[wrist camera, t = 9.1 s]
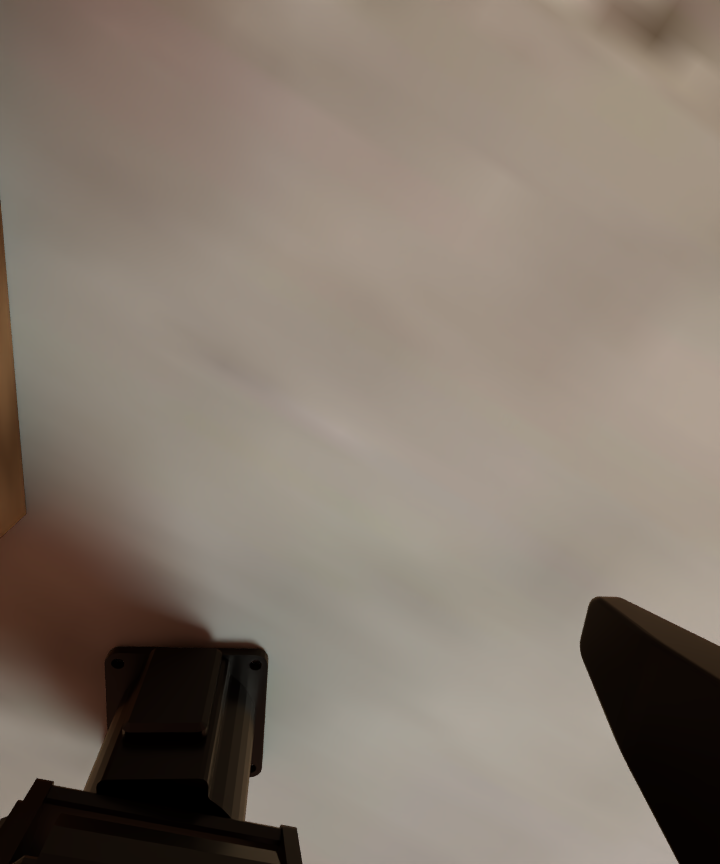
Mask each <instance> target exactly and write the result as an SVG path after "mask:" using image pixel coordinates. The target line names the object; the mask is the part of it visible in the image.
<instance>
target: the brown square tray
mask: <svg viewBox="0 0 720 864" xmlns="http://www.w3.org/2000/svg"><path fill="white" fill-rule="evenodd" d="M25 515H26V505H25V492H24V480H23V468H22V456H21V444H20V432H19V420H18V408H17V396H16V383H15V371H14V359H13V347H12V335H11V323H10V311H9V299H8V287H7V274H6V262H5V250H4V238H3V226H2V214H1V202H0V538H1V537H2V536H3V535H4V534H5V533H6V532H7V531H8V530H9V529H11V528H12V527H13V526H14V525H15V524H16V523H17V522H18V521H19V520H20V519H21V518H22V517H23V516H25Z"/></svg>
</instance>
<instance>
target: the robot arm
mask: <svg viewBox="0 0 720 864" xmlns="http://www.w3.org/2000/svg"><path fill="white" fill-rule="evenodd" d="M580 652H581V656H582V659H583V662H584V664H585V667H586V669H587V671H588V674H589V676H590V679H591V681H592V684H593V686H594V689H595V691H596V694H597V696H598V698H599V701H600V703H601V706H602V708H603V711H604V713H605V716H606V718H607V721H608V723H609V725H610V728H611V730H612V733H613V735H614V737H615V740H616V742H617V744H618V746H619V749H620V751H621V753H622V755H623V757H624V759H625V761H626V763H627V765H628V767H629V769H630V771H631V773H632V775H633V777H634V779H635V781H636V782H637V784H638V786H639V788H640V790H641V792H642V794H643V796H644V798H645V800H646V802H647V804H648V805H649V807H650V809H651V811H652V813H653V815H654V817H655V819H656V821H657V823H658V825H659V827H660V828H661V830H662V832H663V834H664V836H665V838H666V840H667V842H668V844H669V846H670V848H671V850H672V851H673V853H674V855H675V857H676V859H677V861H678V863H679V864H720V646H718V645H716V644H714V643H712V642H710V641H708V640H706V639H704V638H702V637H700V636H698V635H696V634H694V633H692V632H690V631H688V630H686V629H684V628H682V627H680V626H677V625H675V624H673V623H671V622H669V621H667V620H665V619H663V618H661V617H659V616H657V615H655V614H653V613H651V612H649V611H647V610H645V609H643V608H641V607H639V606H637V605H635V604H633V603H631V602H629V601H627V600H625V599H622V598H620V597H595V598H593V599H592V600H591V602H590V603H589V606H588V610H587V614H586V618H585V622H584V627H583V631H582V635H581V639H580ZM117 658H118V659H122V660H123V661H124V662H118V661H116V660H115V659H117ZM254 660H257V661H260V663H258V664H254V663H252V661H254ZM267 674H268V655H267V654H266V652H265V651H263V650H260V649H234V648H170V647H116V648H114V649H112V650H111V651H110V652H109V654H108V656H107V658H106V660H105V680H106V704H107V727H108V732H107V734H106V737H105V739H104V742H103V744H102V747H101V749H100V751H99V754H98V756H97V759H96V761H95V764H94V766H93V768H92V771H91V773H90V776H89V778H88V781H87V783H86V785H85V788H84V790H83V791H82V790H77V789H72V788H66V787H61V786H56V785H54V781H49V780H43V779H38V778H37V779H36V780H35V782H34V784H33V785H32V787H31V788H30V790H29V792H28V793H27V795H26V797H25V798H24V800H23V801H22V800H18V801H17V802H16V804H15V806H14V807H13V809H12V811H11V812H10V814H9V815H8V816H7V817H4V818H2V819H1V820H0V864H302V858H301V852H300V846H299V840H298V833H297V828H296V827H291V826H286V825H281V826H280V828H278V827H273V826H268V825H263V824H257V823H252V822H247V821H245V815H246V805H247V795H248V786H249V777H254V776H256V775H258V774H259V773H260V772H261V769H262V759H263V742H264V725H265V708H266V691H267ZM251 764H254V765H251Z"/></svg>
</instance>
